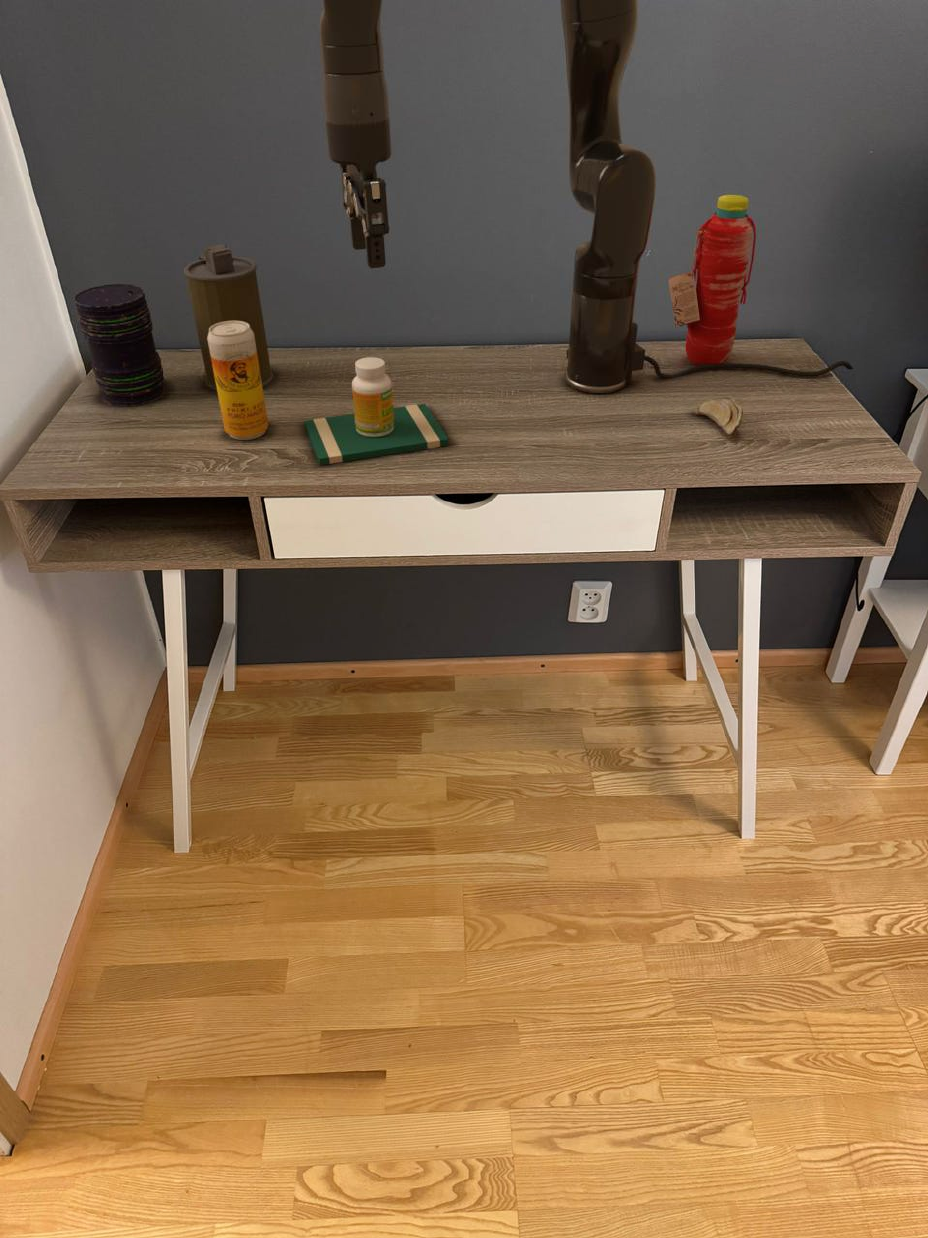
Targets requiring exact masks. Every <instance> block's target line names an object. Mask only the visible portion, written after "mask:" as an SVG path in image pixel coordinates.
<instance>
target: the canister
mask: <svg viewBox="0 0 928 1238" xmlns="http://www.w3.org/2000/svg"><path fill="white" fill-rule="evenodd" d="M203 253H204V255H203V256H198V260H195V261H193V262H190V263H189V264H187V265H186V266H185V267H184V269H183V274H184V276H185V278H186V283H187V287H188V294H189V296H190V302H191V308H192V312H193V317H194V321H195V322H194V323H195V327H196V333H197V338H198V342H199V347H200V351H201V357H202V362H203V366H204V372H205V376H206V377H205V384H206V386H207V387H208V388H209V389H210V390H213V391H216V392H217V387H216V382H215V376H214V371H213V366H212V361H211V356H210V350H209V345H208V340H207V337H208V333H209V328H210V327H211V326H212V325H214V324H216V323H219V322H224V321H243V322H246V323H248V324H249V325H250V328H251V330H252V331H253V333H254V337H255V343H256V350H257V356H258V362H259V369H260V375H261V381H262V388H264V387H266V386H267V385H269V384H270V383H271V381H272V380H273V378H274V374H273V372H272V369H271V362H270V356H269V350H268V342H267V337H266V329H265V323H264V316H263V309H262V303H261V296H260V290H259V283H258V276H257V268H258V266H257V263H256V262H255V261H254V260H253V259H250V258H248V257H242V256H233V254H232V250H231V249H230V248H229V247H227V245H226V244H224V243H221V244H217V245H216V244H215V245H211V246H205V247H203Z"/></svg>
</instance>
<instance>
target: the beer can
mask: <svg viewBox="0 0 928 1238" xmlns="http://www.w3.org/2000/svg"><path fill="white" fill-rule="evenodd" d="M207 340H208V345H209V350H210V356H211V361H212V366H213V371H214V376H215V382H216V387H217V391H216V392H217V397H218V402H219V408H220V413H221V418H222V424H223V428H224V431H225V433H227V435H229V437H231V438H232V439H233V440H234V439H235V440H237V441H239V440H240V441H249V440H255V439H257V438H261V436H263V435H264V434H265V433H266V430H267V429H268V427H269V420H268V414H267V408H266V402H265V401H266V400H265V395H264V394H265V393H264V389H263V388H264V387H262V381H261V375H260V369H259V362H258V356H257V350H256V343H255V337H254V333H253V331H252V330H251V328H250V325H249V324H248V323H246V322H243V321H224V322H219V323H216V324H214V325H212V326H211V327H210V328H209V333H208V337H207Z"/></svg>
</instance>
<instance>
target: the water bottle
mask: <svg viewBox="0 0 928 1238" xmlns="http://www.w3.org/2000/svg"><path fill="white" fill-rule="evenodd" d="M748 207H749V198H748V197H745V196H744V195H739V194H725V195H722V196H719V197H718V199H717V207H716V212H713V213H712V215H711V217H710V218H708V219H707V220H706V221H705V222H704V223H703V224H702V225H701V226H700V228H699V229H698V230H696V232H695V235H696V237H695V241H694V248H693V254H692V261H691V270H690V271H687V272H685V273H682V274H679V275H676V276H673V277H671V278H668V286H669V292H670V293H669V294H670V301H671V309H672V315H673V322H674V328H676V327H683V326H686V328H687V332H686V339H685V345H684V347H685V354H686V357H687V360H688V361H689V362H690V363H691V364H693V365H694V366H698V365H703V364H717V363H727V361H728V359H729V358H730V355H731V354H732V351H733V349H734V343H735V339H736V332H737V323H738V313H739V305H740V304H742V305H746V301H747V300H746V299H747V288H746V287H747V286H748V285H749V283H750V281H751V274H752V270H753V264H754V258H755V249H756V240H757V232H756V231H757V230H756V225H755V222H754V220H753V219H752V218H751V217H750V216H749V214H748V213H747V211H748ZM750 256H751V260H750ZM749 262H750V264H749ZM748 267H749V270H748ZM747 272H748V273H747ZM747 275H748V276H747Z"/></svg>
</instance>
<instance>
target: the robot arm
mask: <svg viewBox="0 0 928 1238" xmlns="http://www.w3.org/2000/svg"><path fill="white" fill-rule="evenodd" d="M322 3H323V10H322V14H321V16H320V19H319V26H318V27H319V28H318V31H319V34H318V35H319V45H320V47H319V48H320V55H321V57H320V58H321V64H322V65H321V66H322V67H321V68H322V71H323V72H322V79H323V80H322V96H323V99H322V100H323V107H324V108H323V109H324V118H325V127H326V128H325V129H326V137H327V138H326V139H327V148H328V157H329V159H330V160H331V162H334V163H335V164H338V165H339V168H340V172H341V173H340V174H341V175H340V176H341V188H342V189H341V190H342V200H343V202H342V206H343V208H344V210H345V211H346V216H347V217H348V219H349V227H350V228H349V229H350V237H351V246H352V248H353V249H354V250H356V251H358V250H365V253H366V264H367V266H368V267H369V268H370V269H378V268H379V269H380V268H384V267H385V266H386V263H387V262H386V249H385V248H386V247H385V237H384V236H386V235H388V234H389V233H390V226H389V214H388V212H389V211H388V202H387V191H386V190H387V188H386V187H387V182H386V181H385V179H383V178H382V179H381V177H380V176H379V177H378V171H377V169H376V168H377V165H378V164H379V163H384V162H386V161H388V160H389V159H390V158H391V157H392V141H391V127H390V126H391V125H390V111H389V95H388V85H387V80H386V76H385V75H386V74H385V70H384V69H385V63H384V48H383V46H384V45H383V35H382V33H383V32H382V26H381V16H382V7H383V0H322ZM638 3H639V2H638V0H560V9H561V10H560V11H561V23H562V30H563V38H564V47H565V49H564V51H565V65H566V79H567V80H566V81H567V90H568V91H567V92H568V103H569V155H568V157H569V158H568V159H569V161H568V163H569V165H568V166H569V167H568V168H569V172H568V173H569V185H570V186H569V187H570V190H571V194H572V196H573V198H574V200H575V202H576V203H577V204H578V205H579V207H581V208H582V209H583V210H585V211H586V212H588V213H590V214H592V215H594V216H593V224H592V232H591V236H590V237H591V238H590V240H587V241H585V242H582V243H580V244H579V245H578V246H577V247H576V250H575V253H574V265H573V278H572V279H573V280H572V296H571V310H570V323H569V324H570V325H569V337H568V349H566V359H567V365H566V372H565V383H566V384H567V385H568V386H570V388H572V389H575V390H577V391H579V392H584V393H588V394H609V393H614V392H618V391H620V390H622V389H624V388H625V387H627V386H631V385H632V380H633V372H636V371H643V370H644V364H645V362H648V364H651V365H652V367H653V368H654V372H655V375H656V376H657V377H658V378H660V379H662V380H670V379H675V378H679V377H683V376H687V375H689V374H692V373H695V372H698V371H702V370H711V369H712V370H713V369H744V370H745V369H746V370H758V371H768V372H773V373H778V374H784V375H789V376H795V377H806V378H808V377H809V378H813V377H820V376H824V375H826V374H828V373H831V372H832V371H835V370H836V369H837V368H839V367H845V369H847V370H853V369H854V367H853V365H852V364H851V363H850V362H848V361H846V360H839V361H837V362H835V363H833V364H831V365H829V366H828V367H826V368H823V369H820V370H816V371H815V370H814V371H807V370H806V371H804V370H803V371H802V370H794V369H788V368H784V367H778V366H775V365H774V366H773V365H766V364H757V363H743V362H742V363H736V362H725V363H717V364H703V365H698V366H697V365H694V366H692V367H689V368H687V369H685V370H683V371H680V372H678V373H675V374H665V373H664V372H663V373H662V371H661V368H660V365H659V363H658V361H656V359H654V358H652V357H650V356H648V355H646V349H644V348H643V347H642V346H640V345H639V344H638V343H637V335H638V327H639V326H638V324H637V322H636V321H634V313H635V305H636V295H637V286H638V278H639V268H640V261H641V259H642V257H643V254H644V253H645V251H646V249H647V245H648V241H649V236H650V230H651V224H652V217H653V211H654V204H655V200H656V199H655V197H656V190H657V176H656V175H657V174H656V169H655V165H654V162H653V160H652V158H651V157H650V156H649V155H648V154H647V153H646V152H644V151H642V150H640V149H639V148H636V147H632V146H629V145H626V144H624V143H623V139H622V132H621V119H620V117H621V116H620V95H621V94H620V93H621V85H622V82H623V77H624V75H625V71H626V68H627V65H628V62H629V59H630V56H631V53H632V49H633V46H634V43H635V39H636V35H637V30H638V21H639V4H638ZM373 219H375V220H377V223H373Z"/></svg>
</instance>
